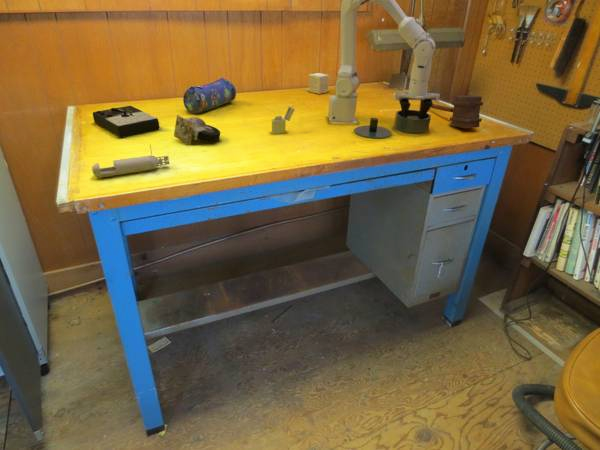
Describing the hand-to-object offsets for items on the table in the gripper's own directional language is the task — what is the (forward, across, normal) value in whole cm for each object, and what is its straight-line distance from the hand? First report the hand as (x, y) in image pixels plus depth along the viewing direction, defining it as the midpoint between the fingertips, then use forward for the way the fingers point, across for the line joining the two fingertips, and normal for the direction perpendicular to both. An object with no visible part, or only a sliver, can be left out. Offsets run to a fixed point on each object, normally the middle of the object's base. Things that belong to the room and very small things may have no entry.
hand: (412, 121), depth 139 cm
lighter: (+3, -43, -4) cm, 43 cm away
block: (+2, 0, 0) cm, 2 cm away
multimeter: (+3, -93, 0) cm, 93 cm away
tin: (+3, 0, 0) cm, 3 cm away
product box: (+3, -26, +50) cm, 57 cm away
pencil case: (+3, -69, +24) cm, 73 cm away
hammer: (+3, +17, +15) cm, 23 cm away
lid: (+2, -14, -4) cm, 15 cm away
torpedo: (+3, -81, -35) cm, 89 cm away
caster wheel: (+3, -68, -12) cm, 69 cm away
